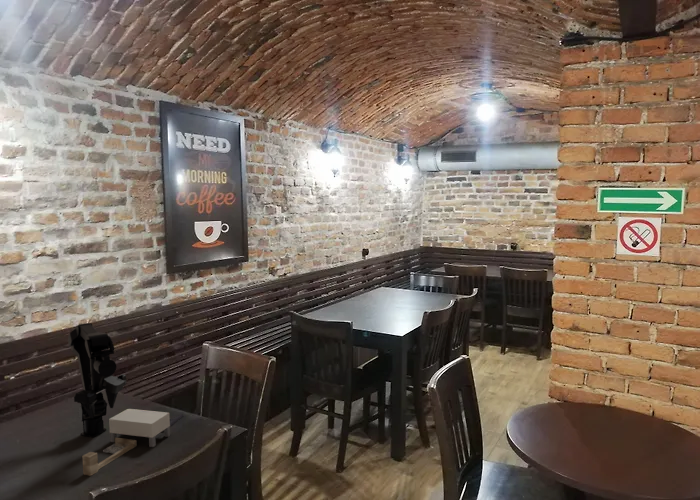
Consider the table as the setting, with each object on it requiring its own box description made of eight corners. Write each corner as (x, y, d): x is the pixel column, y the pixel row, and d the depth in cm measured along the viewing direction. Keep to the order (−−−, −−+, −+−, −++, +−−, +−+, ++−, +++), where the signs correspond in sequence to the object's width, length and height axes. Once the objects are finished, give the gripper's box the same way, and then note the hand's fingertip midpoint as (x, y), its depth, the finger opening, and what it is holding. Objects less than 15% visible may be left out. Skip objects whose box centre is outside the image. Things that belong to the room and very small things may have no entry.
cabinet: (110, 442, 183) (109, 419, 182) (129, 430, 192) (128, 408, 192) (153, 447, 178) (151, 423, 177) (170, 435, 187) (169, 412, 187)
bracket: (150, 416, 207) (149, 409, 207) (183, 418, 204) (183, 411, 204) (128, 431, 193) (128, 424, 193) (164, 433, 190) (163, 426, 190)
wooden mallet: (67, 471, 162) (66, 453, 162) (117, 442, 182) (116, 426, 181) (90, 475, 159) (89, 457, 159) (138, 446, 179) (137, 429, 178)
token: (103, 453, 175) (102, 450, 175) (116, 445, 181) (116, 442, 181) (116, 455, 173) (116, 452, 173) (129, 447, 179) (129, 444, 179)
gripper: (98, 379, 166) (101, 425, 168) (137, 363, 184) (139, 405, 186) (71, 377, 169) (74, 422, 171) (111, 361, 187) (113, 402, 189)
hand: (102, 412), depth 179 cm, fingers open, 9 cm apart
